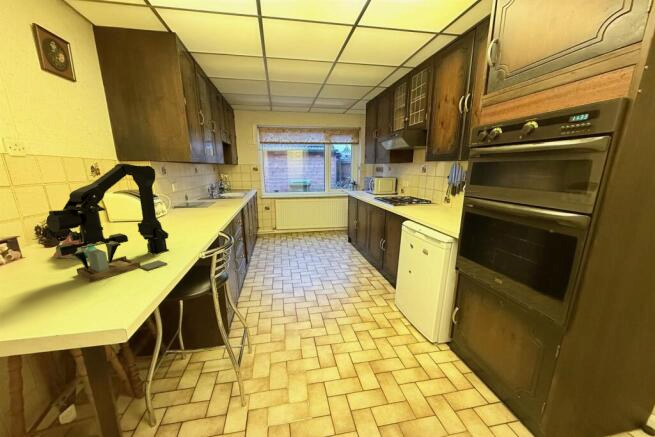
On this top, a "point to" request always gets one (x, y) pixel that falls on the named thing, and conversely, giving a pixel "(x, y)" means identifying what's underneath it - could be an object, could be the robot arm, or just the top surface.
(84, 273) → the rack
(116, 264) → the offcut stack
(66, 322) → the top surface
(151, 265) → the rubber mat
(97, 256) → the grey square block
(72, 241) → the athletic shoe
